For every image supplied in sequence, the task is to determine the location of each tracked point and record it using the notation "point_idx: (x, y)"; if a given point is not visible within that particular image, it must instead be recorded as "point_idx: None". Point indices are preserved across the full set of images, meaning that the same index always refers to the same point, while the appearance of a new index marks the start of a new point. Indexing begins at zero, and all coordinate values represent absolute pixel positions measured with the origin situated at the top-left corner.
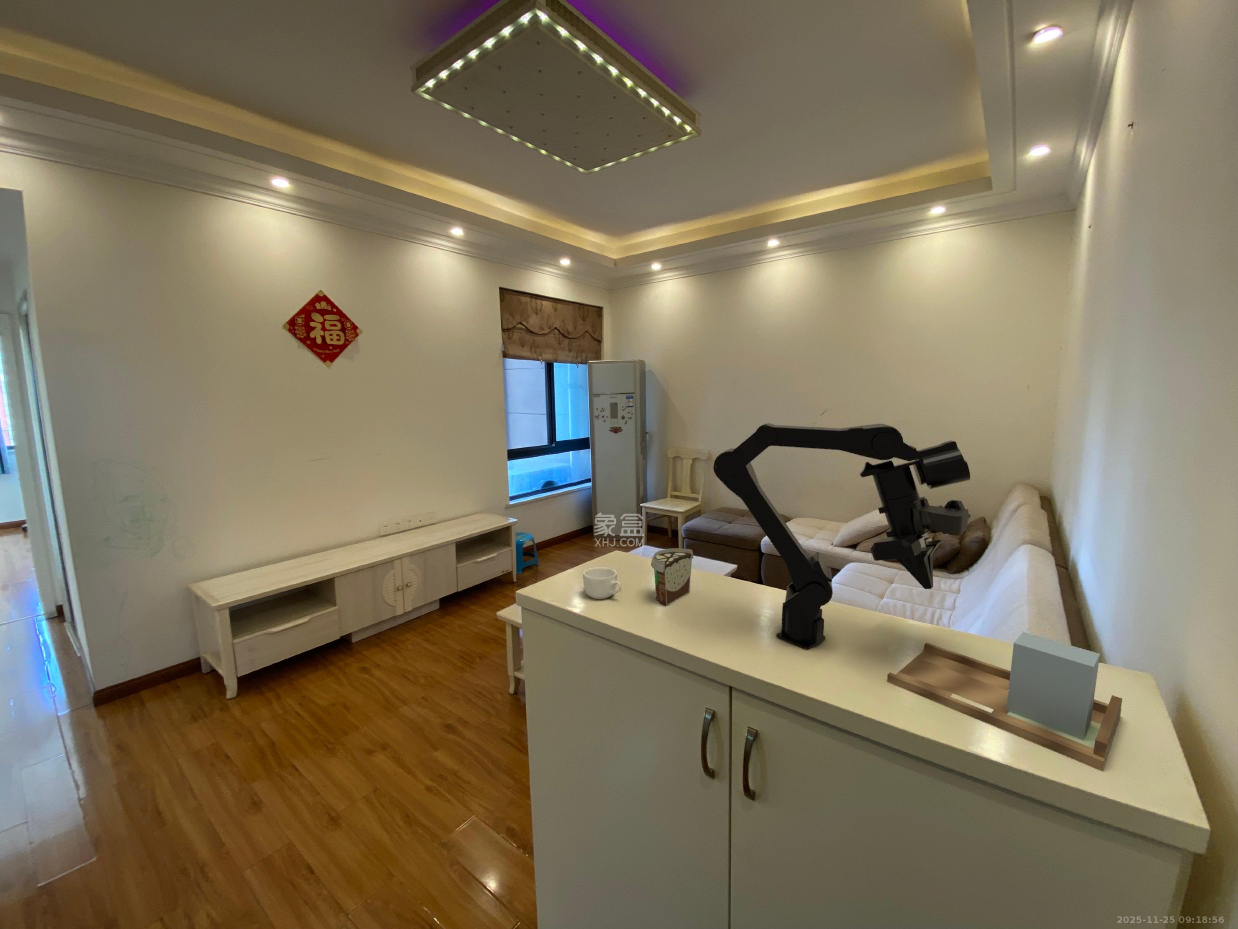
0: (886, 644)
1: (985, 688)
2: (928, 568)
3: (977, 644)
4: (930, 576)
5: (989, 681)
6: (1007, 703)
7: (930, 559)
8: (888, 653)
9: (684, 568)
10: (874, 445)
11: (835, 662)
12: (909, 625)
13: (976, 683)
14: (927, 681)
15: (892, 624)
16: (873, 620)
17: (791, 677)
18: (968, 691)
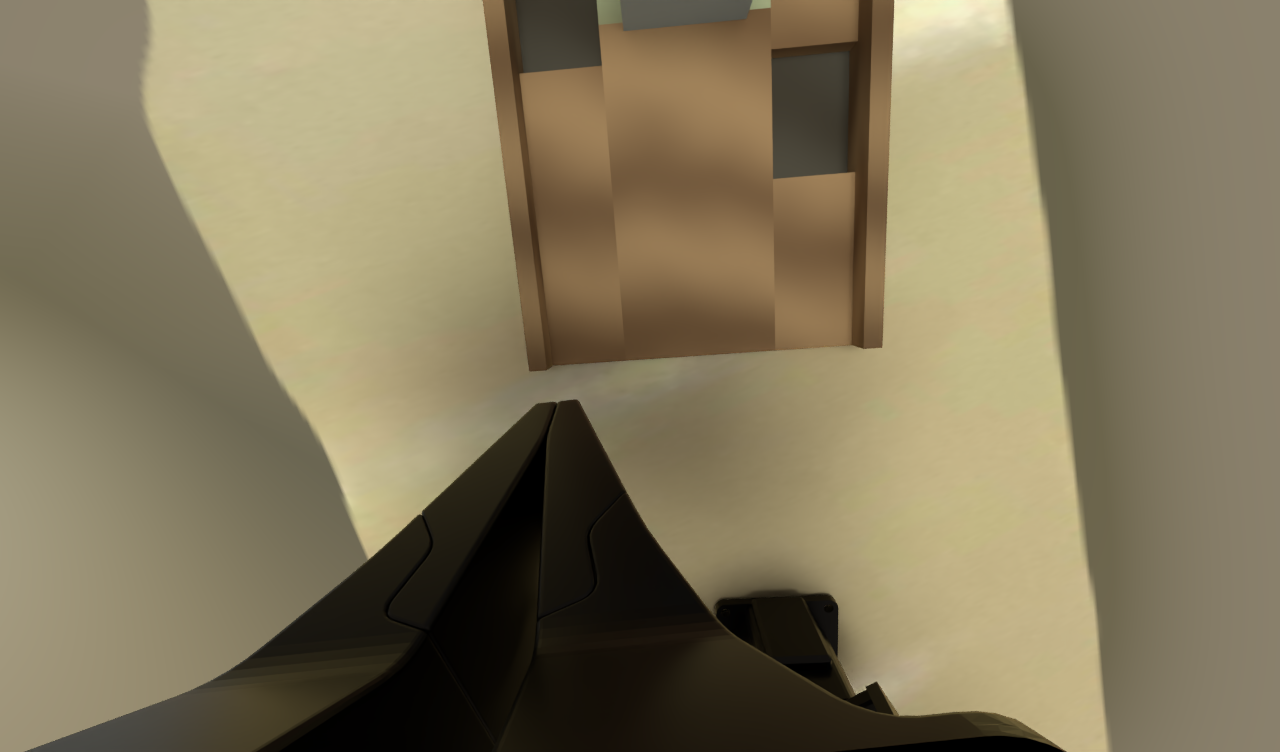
0: None
1: (650, 121)
2: (575, 504)
3: (301, 284)
4: (558, 448)
5: (588, 130)
6: (750, 2)
7: (433, 588)
8: (636, 438)
9: None
10: None
11: (833, 507)
12: (369, 489)
13: (640, 154)
14: (764, 263)
15: None
16: None
17: (1022, 536)
18: (720, 149)
